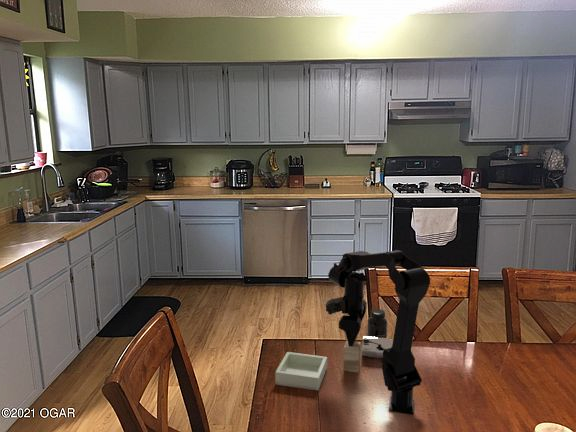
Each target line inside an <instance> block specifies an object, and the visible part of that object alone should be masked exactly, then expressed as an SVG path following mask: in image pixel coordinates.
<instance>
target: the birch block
mask: <svg viewBox="0 0 576 432" xmlns="http://www.w3.org/2000/svg"><path fill="white" fill-rule="evenodd" d="M361 345H362V344H361V342H360V341H355V342H354V344H353V346H352V347H351V346H349V344H348V341H347V340H345V343H344V346H343V347H344V348H343V372H349V373H351V372H352V373H359V371H360V368H361Z"/></svg>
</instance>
